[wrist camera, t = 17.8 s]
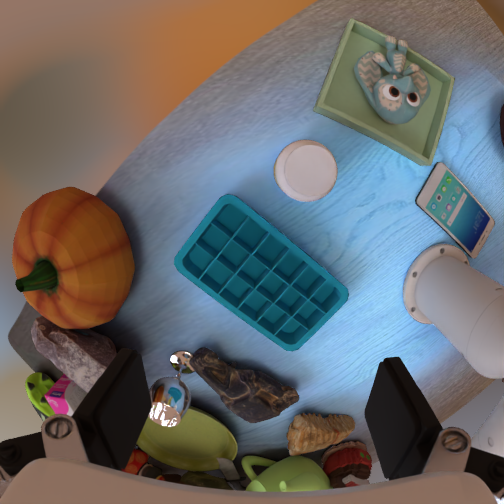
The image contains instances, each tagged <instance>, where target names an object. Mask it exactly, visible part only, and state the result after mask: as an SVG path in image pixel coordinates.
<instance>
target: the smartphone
mask: <svg viewBox="0 0 504 504" xmlns="http://www.w3.org/2000/svg"><path fill="white" fill-rule="evenodd" d="M415 202H416V204H417V206H419V207H420V208H421V209H422V210H423V211H424V212H425V213H426V214H427V215H428V216H430V217H431V218H432V219H433V220H434V221H435V222H436V223H437V224H438V225H439V226H440V227H441V228H442V229H443V230H444V231H445V232H446V233H447V234H448V235H449V236H450V237H451V238H452V239H453V240H454V241H455V242H456V243H457V244H458V245H459V246H460V247H461V248H462V249H463V250H464V251H465V252H466V253H467V254H468V255H469V256H470V257H472V258H476V257H477V256H478V254H479V252H480V251H481V249H482V247H483V245H484V244H485V242H486V240H487V238H488V236H489V234H490V233H491V231H492V229H493V227H494V224H495V221H494V219H493V218H492V217H491V216H490V214H489V213H488V212H487V211H486V209H485V208H484V207H483V206H482V205H481V203H480V202H479V201H478V200H477V199H476V198H475V196H474V195H473V194H472V193H471V192H470V191H469V190H468V189H467V187H466V186H465V185H464V184H463V183H462V182H461V181H460V180H459V179H458V178H457V177H456V176H455V175H454V174H453V173H452V171H451V170H450V169H449V168H448V167H447V166H446V165H445V164H444V163H442V162H437V163H436V164H435V166H434V168H433V170H432V172H431V173H430V175H429V177H428V179H427V180H426V182H425V184H424V185H423V187H422V189H421V191H420V192H419V194H418V196H417V197H416V200H415Z"/></svg>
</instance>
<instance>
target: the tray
mask: <svg viewBox="0 0 504 504" xmlns="http://www.w3.org/2000/svg"><path fill="white" fill-rule="evenodd" d="M385 37H387V35H385V34H383V33H382V32H380V31H378V30H376V29H374V28H372V27H370V26H368V25H365V24H363V23H361V22H359V21H357V20H355V19H353V18H351V19H350V21H349V22H348V24H347V26H346V28H345V30H344V33H343V35H342V38H341V41H340V43H339V46H338V48H337V51H336V53H335V56H334V58H333V61H332V63H331V66H330V69H329V71H328V74H327V76H326V79H325V81H324V84H323V86H322V89H321V91H320V94H319V96H318V99H317V101H316V104H315V106H314V109H313V111H314V112H317V113H319V114H321V115H324V116H326V117H328V118H330V119H333V120H335V121H337V122H339V123H341V124H344V125H346V126H348V127H350V128H352V129H354V130H356V131H358V132H360V133H362V134H364V135H366V136H368V137H370V138H372V139H374V140H376V141H378V142H380V143H382V144H383V145H385V146H387V147H389V148H391V149H393V150H394V151H396V152H398V153H400V154H401V155H403V156H405V157H407V158H408V159H410V160H412V161H413V162H415V163H417V164H418V165H420V166H431V164H432V161H433V158H434V155H435V152H436V148H437V145H438V142H439V139H440V135H441V132H442V128H443V125H444V121H445V118H446V114H447V110H448V106H449V102H450V98H451V94H452V89H453V85H454V80H455V78H454V77H452V76H451V75H450V74H448V73H447V72H446V71H444V70H443V69H441V68H440V67H438V66H437V65H435V64H434V63H432V62H431V61H429V60H428V59H426V58H425V57H423V56H422V55H420V54H418V53H417V52H415V51H414V50H412V49H410V48H409V47H408V48H407V53H406V58H407V59H406V60H407V61H406V64H405V66H404V69H403V70H405V69H406V68H407V67H408V66H409V65H410V64H412V63H416V64H418V65H419V66H420V67H421V68H422V70H423V71H424V73H425V75H426V76H427V78H428V80H429V84H430V88H431V92H430V95H429V97H428V99H427V100H426V101H425V102H424V104H423V105H422V106H421V108H420V109H419V111H418V114H417V115H416V116H415V117H414V118H413V119H412V120H410V121H409V122H407V123H404V124H398V125H395V124H390V123H388V122H386V121H384V120H383V119H382V118H381V117H380V116H379V115H378V114H377V113H376V111H375V109H374V108H373V107H372V106H371V105H370V104H369V102H368V100H367V98H366V95H365V92H364V90H363V88H362V87H361V85H360V83H359V81H358V79H357V78H356V74H355V71H354V67H355V65H356V63H357V61H358V58H360V57H361V56H362V55H364V54H365V53H366V52H368V51H373V52H374V53H381V54H382V55H383V56H384V57H385V58H386V54H387V51H388V50H387V47H386V45H385ZM395 50H397V51H399V50H398V48H397V41H396V47H395ZM382 73H383V77H384V76H387V75H390V73H389V72H387V71H386V70H385V69H384V68H383V67H382Z"/></svg>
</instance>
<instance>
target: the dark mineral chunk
mask: <svg viewBox="0 0 504 504" xmlns="http://www.w3.org/2000/svg"><path fill="white" fill-rule="evenodd" d="M189 364H190V365H191V367H192V368H193V369H194V370H195V371H196V372H197V374H198V375H199V376H200V377H201V378H203V379H204V381H205V382H206V383H207V384H208V385H209V386H210V387H211V388H212V389H213V390H215V392H216V393H217V394H219V395H220V398H221V400H222V402H223V403H224V404H225V406H226V407H227V408H228V409H229V410H231V411H232V412H233V413H234V414H236V415H237V416H239V417H241V418H243V419H244V420H245V421H248V422H249V423H257V422H261V421H264V420H268V419H271V418H273V417H276V416H279V415H280V413H281V412H282V411H283V410H285V409H286V408H288V407H289V406H290V405H292V404H294V403H296V402H298V400H299V395H298V393H297V391H296V390H295V388H292V387H290V386H285V385H281V384H280V383H279V382H277V381H276V380H274V379H273V378H271V377H269V376H268V375H266V374H264V373H263V372H261V371H254V372H253V370H247V369H240V370H239V369H237V370H236V369H235V367H236V366H237V363H236V362H232V363H231V364H227V363H225V362H224V361H221V360H219V359H218V355H217V354H216V353H214V352H213V351H212V350H210V349H208V348H206V347H203V348H200V349H198V350H197V351H196V352H195V353H194V354H193V356H192V357H191V358H190V361H189Z"/></svg>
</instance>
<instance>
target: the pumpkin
mask: <svg viewBox="0 0 504 504" xmlns="http://www.w3.org/2000/svg"><path fill="white" fill-rule="evenodd" d="M12 263H13V267H14V270H15V273H16V277H17V280H16V284H15V285H16V287H17V289H18V290H19V291H20V292H23V294H24V296H25V298H26V300H27V302H28V303H29V304H30V305H32V306H33V307H34V308H35V309H36V310H37V311H38V312H39V313H40V314H41V315H42V316H43V317H45V318H46V319H48V320H50V321H51V322H53V323H54V324H56V325H58V326H59V327H61V328H65V329H88V328H92V327H95V326H98V325H100V324H103V323H106V322H109V321H110V320H112V319H113V318H114V317H115V316H116V314H117V312H118V311H119V309H120V308H121V306H122V304H123V303H124V301H125V300H126V298H127V296H128V294H129V291H130V287H131V283H132V279H133V275H134V271H135V264H134V259H133V254H132V250H131V245H130V240H129V237H128V235H127V233H126V231H125V229H124V226H123V224H122V222H121V220H120V218H119V215H118V214H117V213H116V212H114V211H113V210H112V209H111V208H110V207H108V206H107V205H106V204H105V203H104V202H102V201H101V200H100V199H99V198H98V197H96V196H94V195H92V194H89V193H87V192H85V191H82V190H80V189H77V188H75V187H66V188H63V189H59V190H56V191H52V192H49V193H46V194H44V195H42V196H41V197H40V198H39V199H37V200H36V201H35V202H33V203H32V204H31V205H30V206H28V207H27V208H26V209H25V211H24V212H23V213H22V216H21V218H20V221H19V225H18V228H17V231H16V234H15V238H14V244H13V256H12Z"/></svg>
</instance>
